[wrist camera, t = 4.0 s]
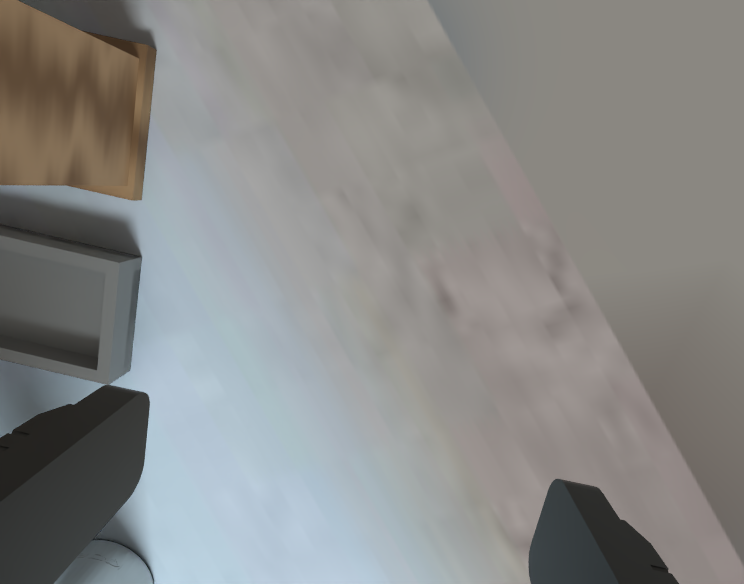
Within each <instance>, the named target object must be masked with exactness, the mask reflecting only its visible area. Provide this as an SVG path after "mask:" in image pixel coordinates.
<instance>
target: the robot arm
mask: <svg viewBox="0 0 744 584" xmlns="http://www.w3.org/2000/svg"><path fill="white" fill-rule="evenodd" d="M149 407H150V401H149V397H148V395H147V394H146V393H144V392H140V391H135V390H130V389H125V388H121V387H116V386H111V385H105V386H103V387H101V388H99V389H98V390H96V391H95V392H93V393H92V394H90V395H89V396H87V397H86V398H84V399H83V400H81V401H80V402H78V403H76V404H75V405H72V404H68V405H65V406H62V407H59V408H56V409H53V410H50V411H47V412H44V413H41V414H38V415H37V416H35V417H33V418H32V419H30V420H29V421H27V422H25V423H24V424H22V425H21V426H19V427H17V428H16V429H14V430H13V432H12V434H6V435H4V436H3V437H1V438H0V584H153V579H152V576H151V574H150V571H149V570H148V568H147V566H146V565H145V563H144V562H143V561H142V560H141V559H140V557H139V556H137V555H136V554H135V553H134V552H132V551H131V550H130V549H128V548H126V547H124V546H122V545H120V544H117V543H114V542H111V541H105V540H93V538H94V537H95V536H96V535H97V534H98V533H99V532H100V530H101V529H102V528H103V527H104V526H105V525H106V524H107V523H108V521H109V520H110V519H111V518H112V517H113V516H114V515H115V513H116V512H117V511H118V510H119V509H120V508H121V507H122V506H123V504H124V503H125V502H126V501H127V500H128V499H129V497H130V496H131V495H132V493H133V492H134V490H135V488H136V486H137V484H138V482H139V480H140V477H141V474H142V471H143V466H144V459H145V448H146V438H147V428H148V417H149ZM529 576H530V581H531V584H679V583H678V582H677V580H676V579H675V578H674V576H673V575H672V574H670V573H668V568H667V566H666V565H665V563H664V562H663V560H662V559H661V558H660V556H659V555H658V553H657V552H656V550H655V549H654V548H653V546H652V545H651V543H649V542H648V541H647V540H646V539H645V538H644V537H643V536H642V535H641V534H639V533H638V532H637V531H636V530H635V529H634V528H633V527H632V526H631V525H629V524H628V523H627V522H626V521H624V520H620V519H619V517H618V516H617V514H616V513H615V511H614V510H613V508H612V507H611V505H610V504H609V502H608V500H607V499H606V497H605V496H604V494H603V493H602V492H601V490H600V489H599V488H597V487H595V486H590V485H585V484H580V483H576V482H571V481H566V480H561V479H555V480H554V481H553V482H552V483H551V485H550V487H549V490H548V493H547V496H546V499H545V502H544V505H543V508H542V511H541V515H540V518H539V521H538V524H537V527H536V530H535V533H534V536H533V540H532V543H531V546H530V551H529Z"/></svg>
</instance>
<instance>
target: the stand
mask: <svg viewBox="0 0 744 584" xmlns="http://www.w3.org/2000/svg"><path fill="white" fill-rule="evenodd" d="M155 60H156V49H154V48H152V47H150V46H148V45H145V44H140V43H135V42H131V41H126V40H122V39H117V38H113V37H108V36H103V35H99V34H94V33H90V32H85V31H81V30H78V29H76V28H74V27H72V26H70V25H68V24H66V23H64V22H62V21H60V20H58V19H56V18H53V17H51V16H49V15H47V14H45V13H43V12H41V11H39V10H37V9H35V8H33V7H31V6H28V5H26V4H24V3H22V2H20V1H18V0H0V185H67V186H71V187H76V188H80V189H84V190H89V191H93V192H98V193H102V194H106V195H111V196H115V197H120V198H124V199H128V200H141V199H142V189H143V179H144V169H145V160H146V150H147V140H148V130H149V120H150V110H151V100H152V90H153V80H154V70H155Z"/></svg>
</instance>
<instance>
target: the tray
mask: <svg viewBox="0 0 744 584" xmlns="http://www.w3.org/2000/svg"><path fill="white" fill-rule="evenodd" d="M141 260H142V257H139V256H135V255H131V254H126V253H122V252H118V251H113V250H109V249H105V248H100V247H96V246H91V245H87V244H83V243H78V242H74V241H70V240H65V239H61V238H57V237H52V236H48V235H44V234H39V233H35V232H30V231H26V230H22V229H17V228H13V227H9V226H4V225H0V359H1V360H5V361H9V362H14V363H18V364H22V365H26V366H31V367H35V368H39V369H43V370H47V371H52V372H56V373H60V374H64V375H69V376H73V377H77V378H81V379H85V380H90V381H94V382H98V383H102V384H107V385H109V384H110V383H112V382H113V381H115V380H116V379H118V378H119V377H121V376H123V375H124V374H126V373H127V372H129V371H130V367H131V357H132V347H133V338H134V328H135V318H136V309H137V299H138V289H139V280H140V270H141Z"/></svg>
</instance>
